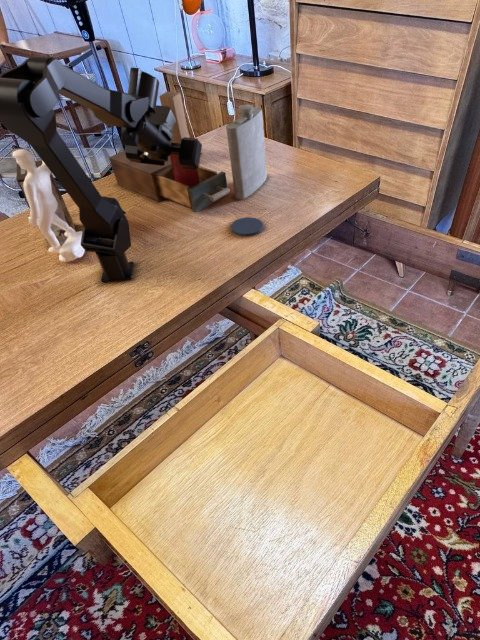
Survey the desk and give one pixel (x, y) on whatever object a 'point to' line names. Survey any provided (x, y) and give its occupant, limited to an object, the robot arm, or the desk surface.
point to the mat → (246, 226)
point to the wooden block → (176, 115)
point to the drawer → (193, 188)
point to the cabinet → (137, 175)
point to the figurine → (47, 208)
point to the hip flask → (247, 151)
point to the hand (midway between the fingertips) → (179, 165)
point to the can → (184, 173)
